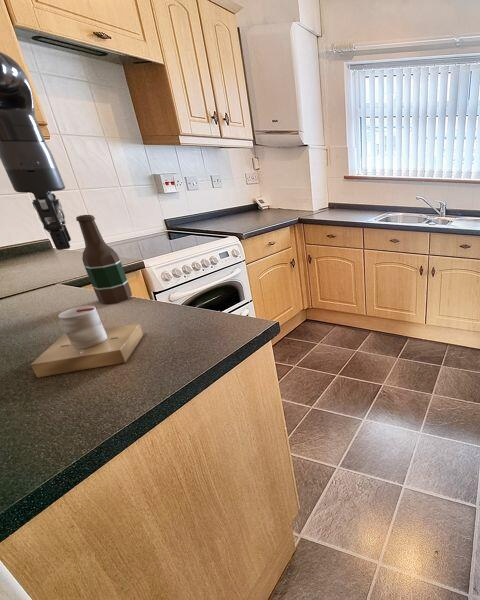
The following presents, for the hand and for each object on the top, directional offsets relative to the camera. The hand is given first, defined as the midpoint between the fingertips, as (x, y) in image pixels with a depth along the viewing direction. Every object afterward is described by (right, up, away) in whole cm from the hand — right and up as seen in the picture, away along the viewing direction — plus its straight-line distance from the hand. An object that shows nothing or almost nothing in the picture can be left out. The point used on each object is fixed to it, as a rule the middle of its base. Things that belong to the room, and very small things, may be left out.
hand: (64, 245), depth 74 cm
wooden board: (+10, -24, -3) cm, 26 cm away
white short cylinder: (+10, -21, -4) cm, 23 cm away
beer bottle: (-9, -12, +24) cm, 28 cm away
